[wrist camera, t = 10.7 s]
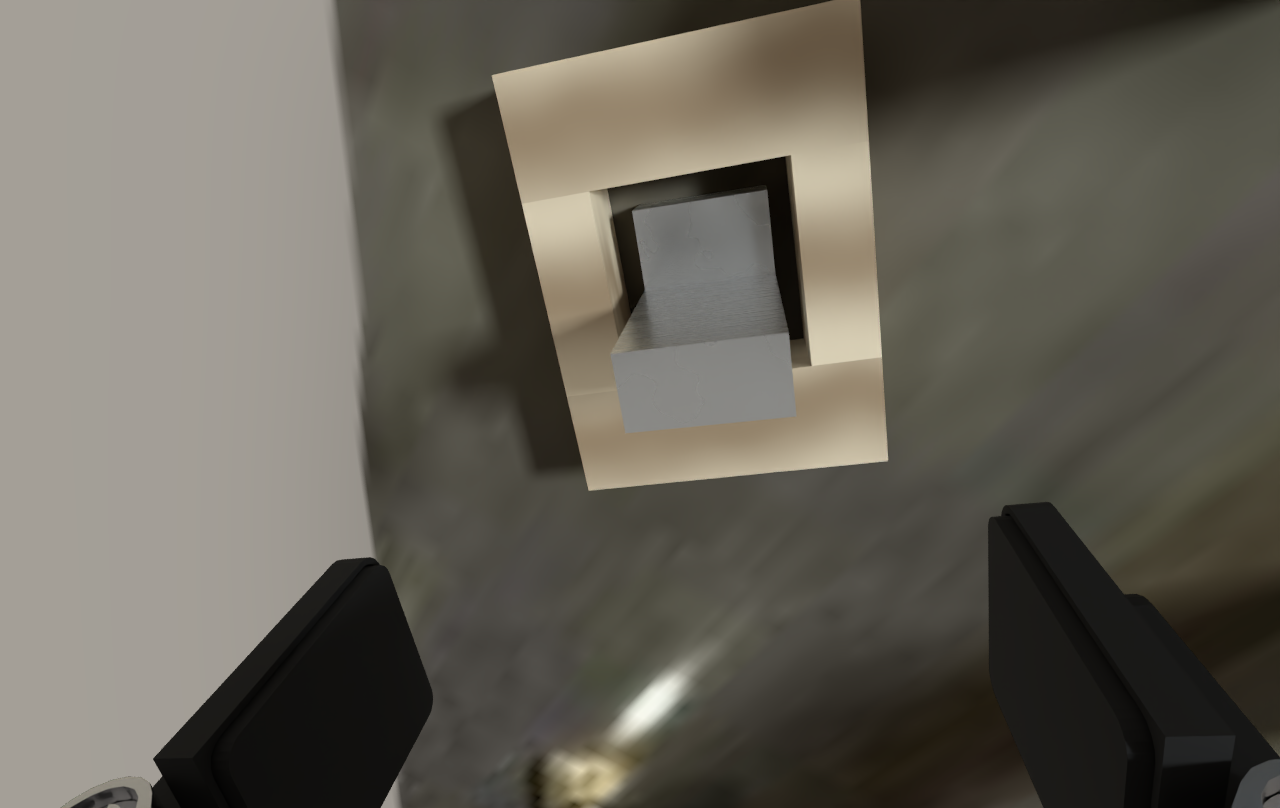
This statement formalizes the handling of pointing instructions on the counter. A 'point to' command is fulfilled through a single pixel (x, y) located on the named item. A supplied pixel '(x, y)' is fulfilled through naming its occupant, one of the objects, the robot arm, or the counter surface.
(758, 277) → the bracket
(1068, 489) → the counter surface
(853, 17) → the block
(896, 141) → the counter surface
